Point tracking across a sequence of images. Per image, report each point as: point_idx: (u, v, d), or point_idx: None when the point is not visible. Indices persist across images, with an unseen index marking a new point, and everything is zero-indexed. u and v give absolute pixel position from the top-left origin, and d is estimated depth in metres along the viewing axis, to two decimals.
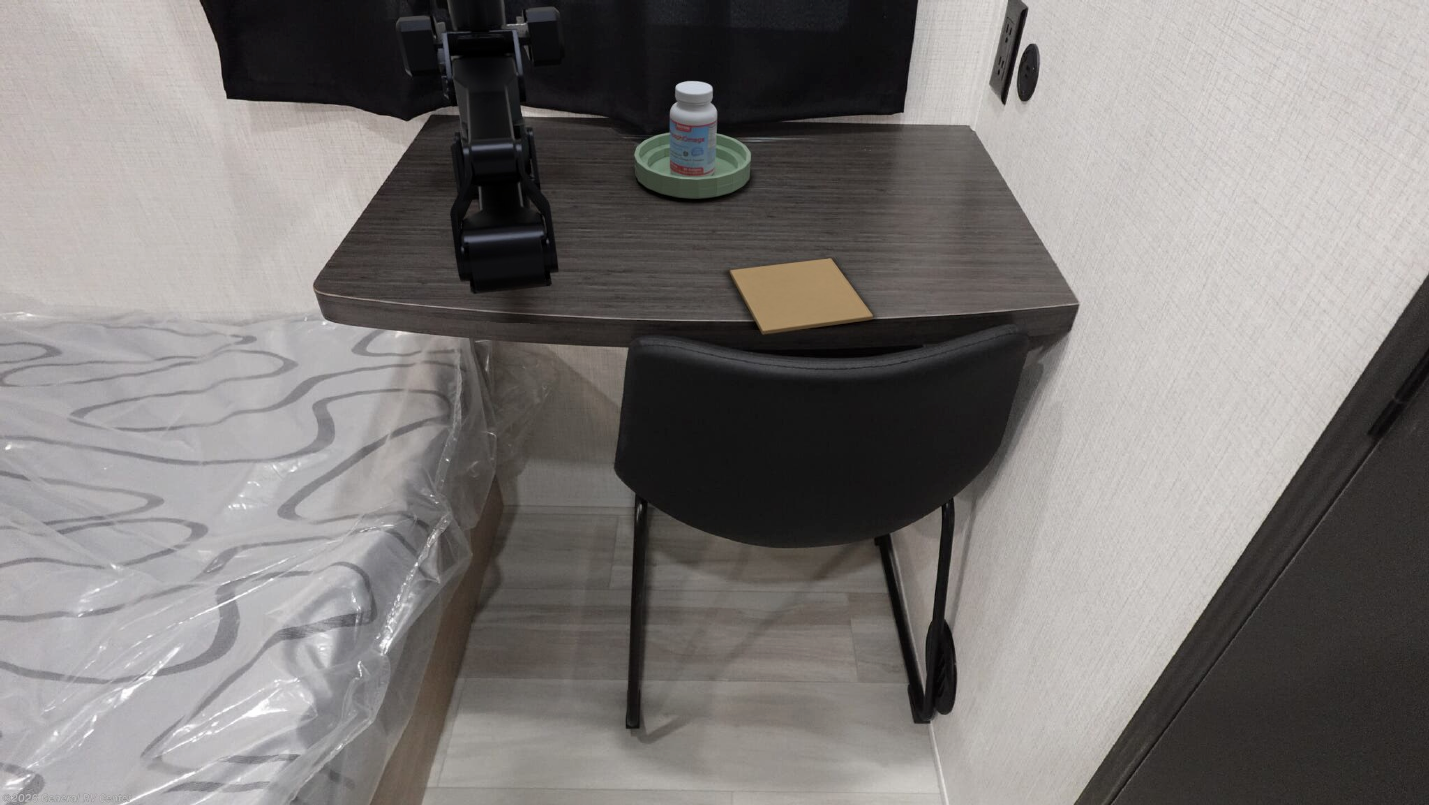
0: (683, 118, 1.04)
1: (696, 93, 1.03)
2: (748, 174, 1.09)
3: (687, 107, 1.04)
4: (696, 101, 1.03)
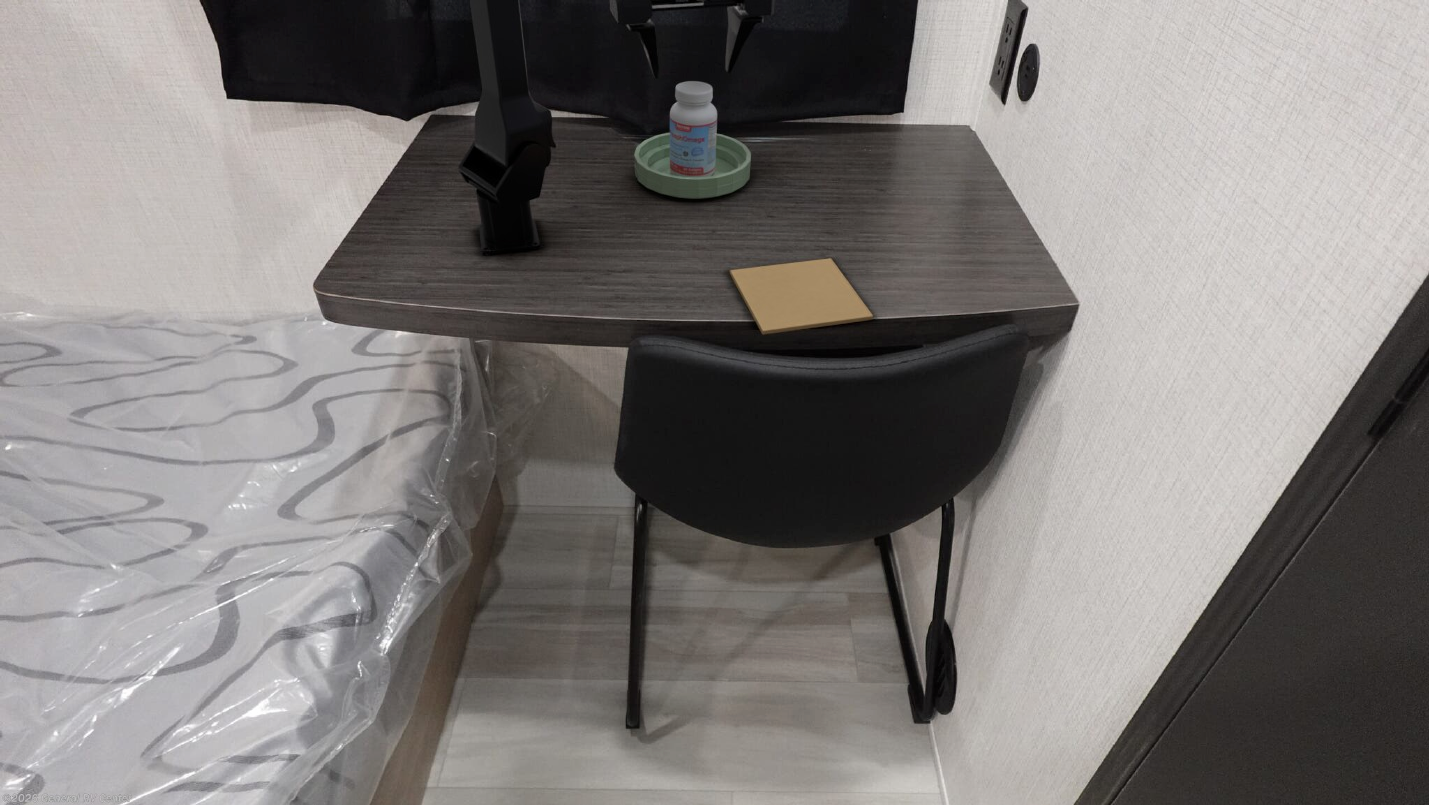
0: (683, 118, 1.04)
1: (696, 93, 1.03)
2: (748, 174, 1.09)
3: (687, 107, 1.04)
4: (696, 101, 1.03)
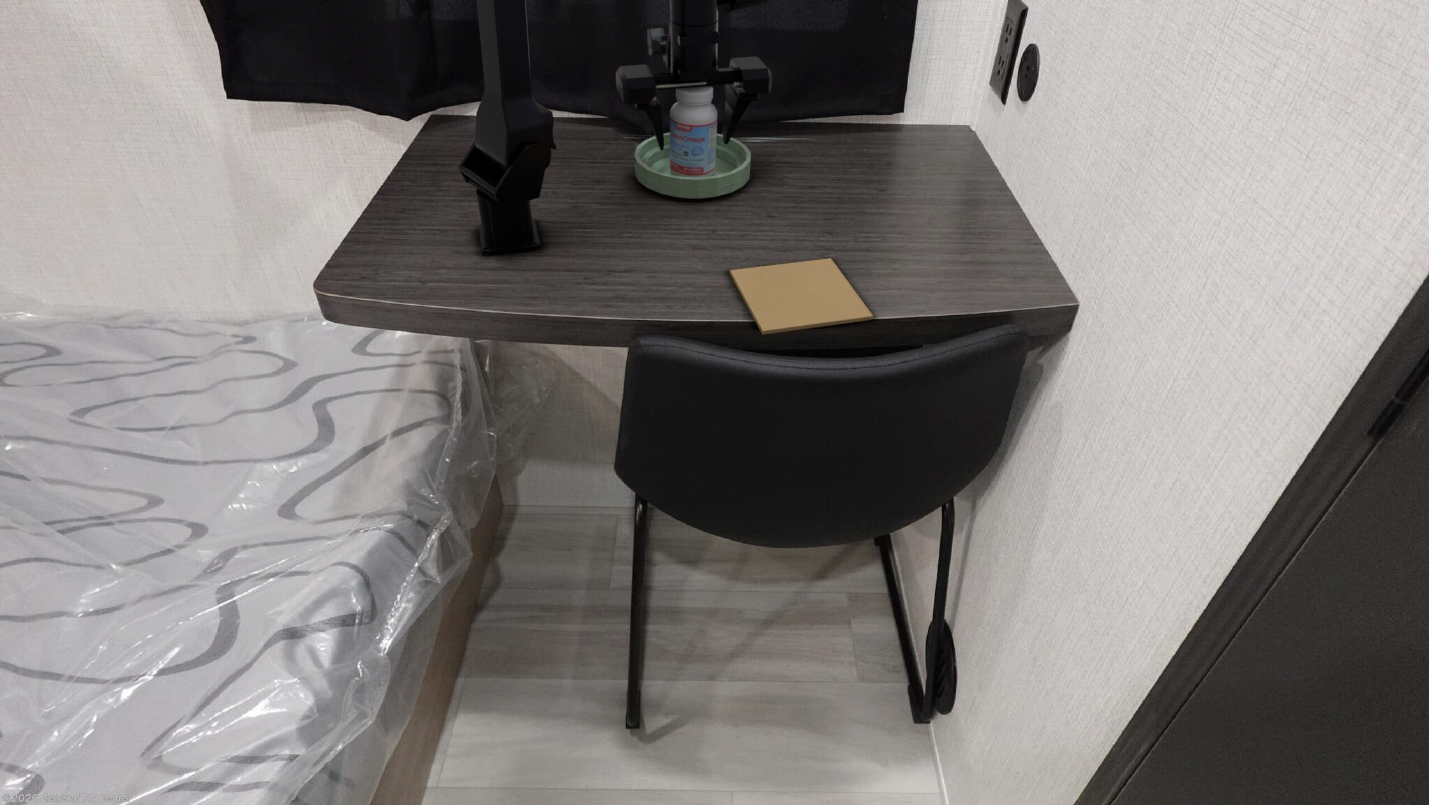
0: (683, 118, 1.04)
1: (696, 93, 1.03)
2: (748, 174, 1.09)
3: (687, 107, 1.04)
4: (696, 100, 1.03)
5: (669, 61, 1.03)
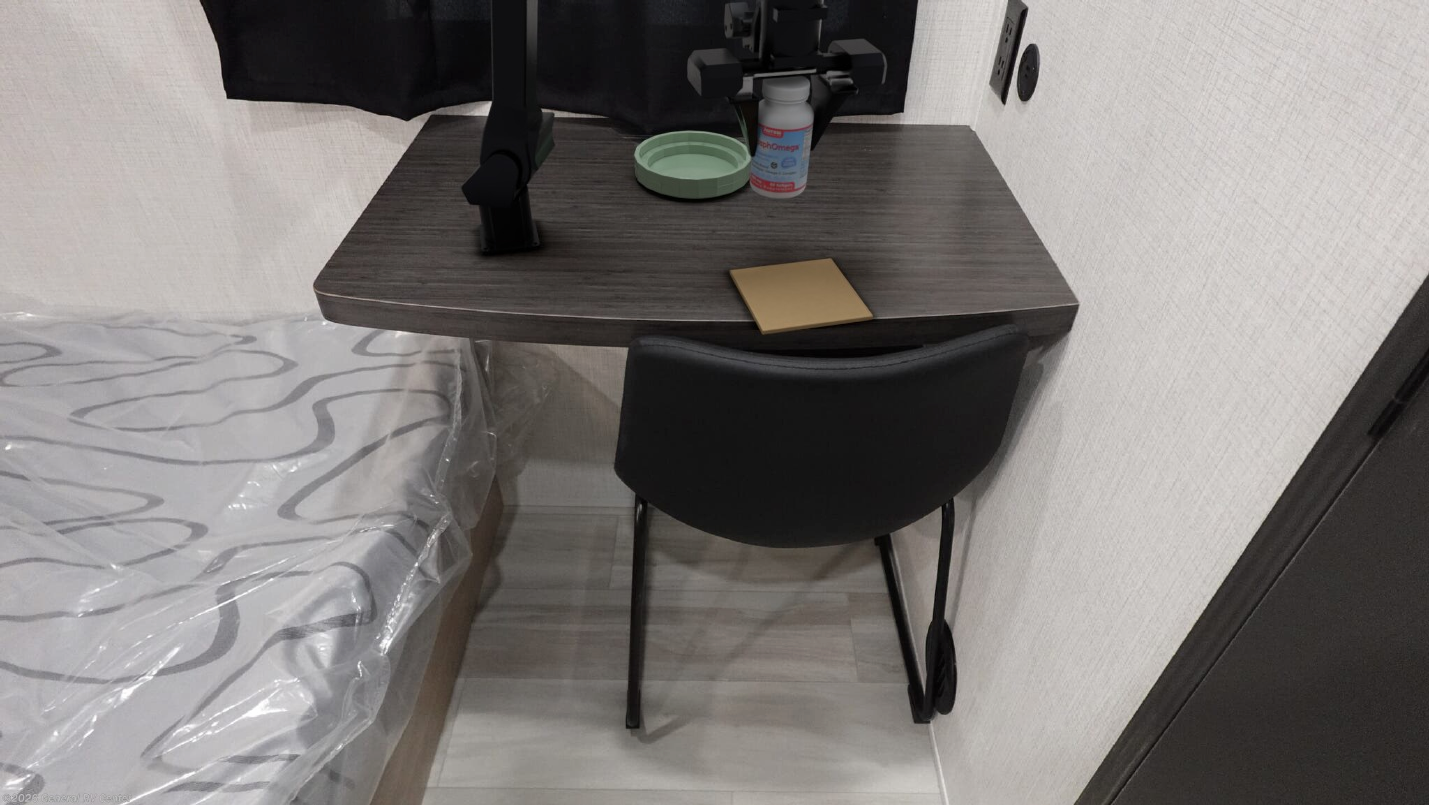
0: (773, 121, 0.82)
1: (791, 88, 0.80)
2: (748, 174, 1.09)
3: (778, 106, 0.81)
4: (791, 98, 0.81)
5: (756, 44, 0.81)
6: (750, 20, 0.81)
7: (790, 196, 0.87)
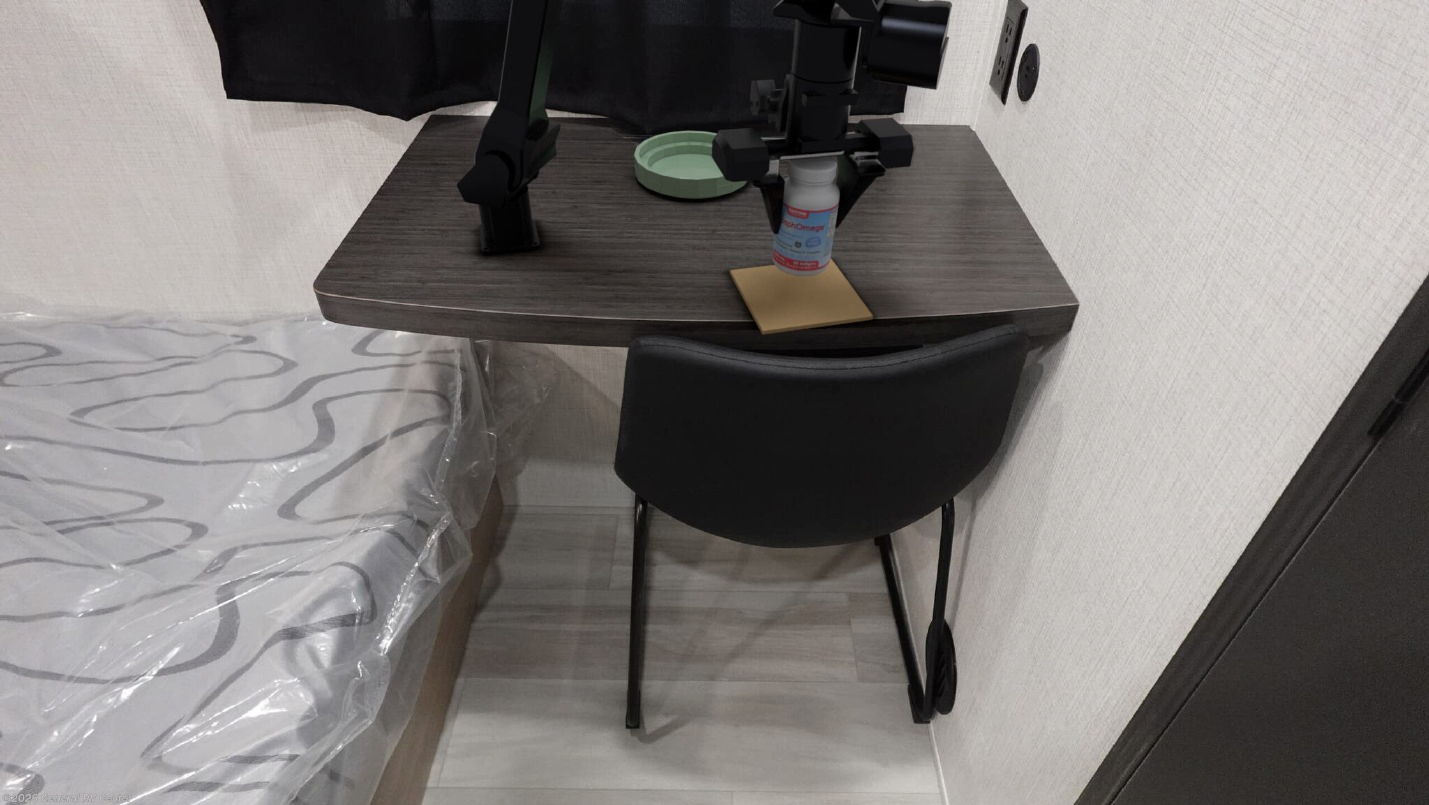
0: (799, 202, 0.80)
1: (818, 170, 0.78)
2: None
3: (804, 187, 0.80)
4: (817, 180, 0.79)
5: (782, 124, 0.79)
6: (777, 99, 0.79)
7: (813, 274, 0.85)
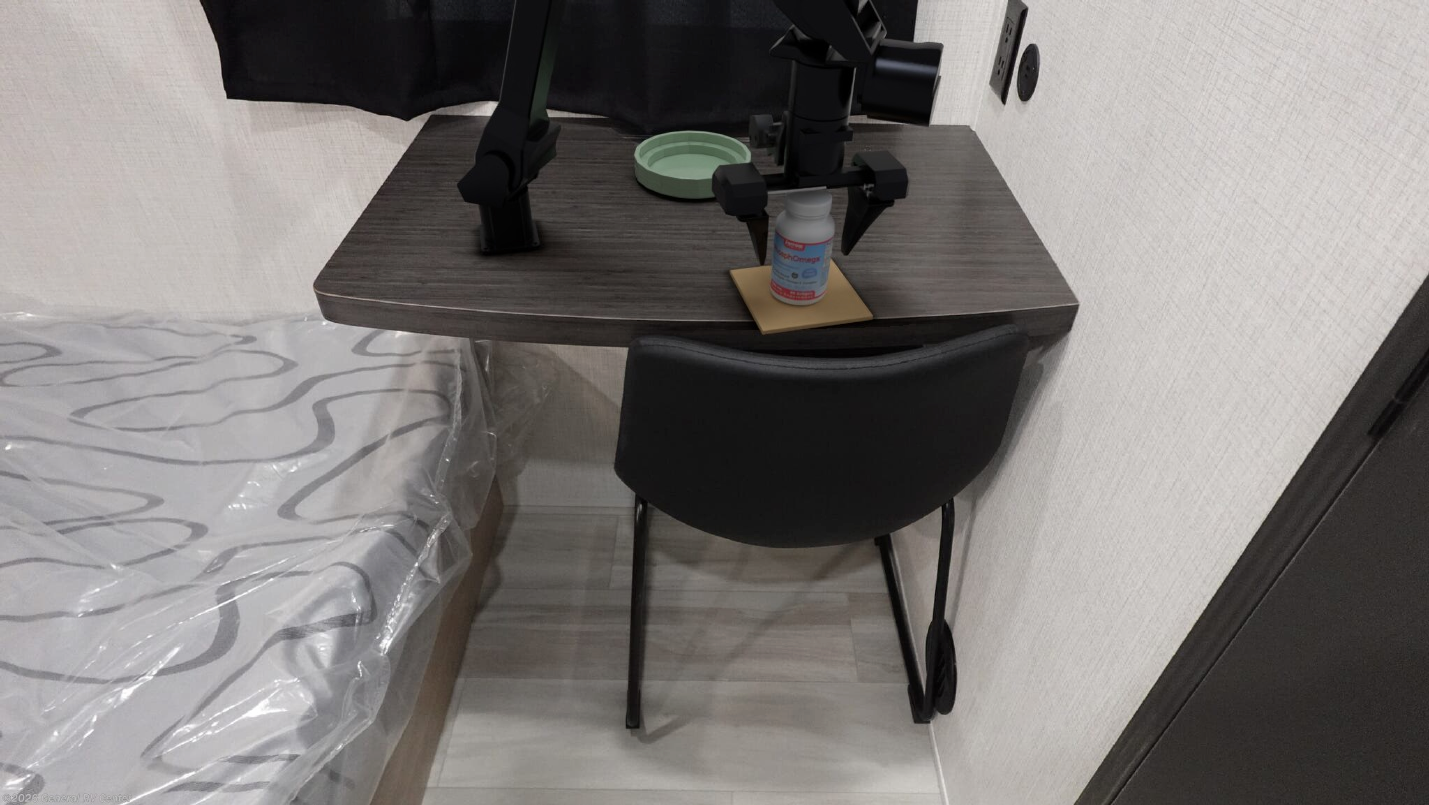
0: (795, 235, 0.82)
1: (814, 205, 0.81)
2: None
3: (800, 220, 0.82)
4: (813, 214, 0.81)
5: (780, 158, 0.81)
6: (775, 134, 0.82)
7: (810, 303, 0.87)
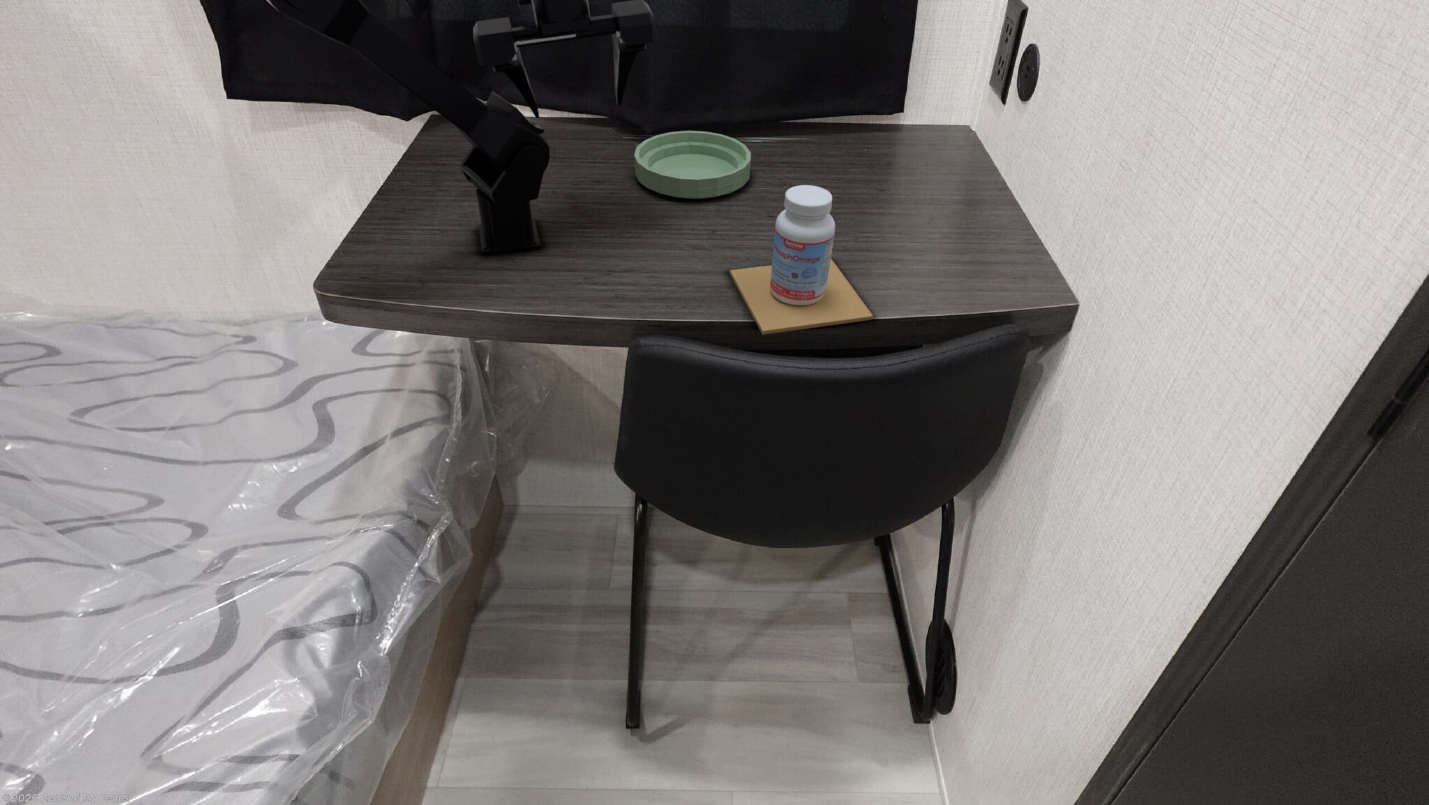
0: (795, 235, 0.82)
1: (814, 205, 0.81)
2: (748, 174, 1.09)
3: (800, 220, 0.82)
4: (813, 214, 0.81)
5: None
6: None
7: (810, 303, 0.87)
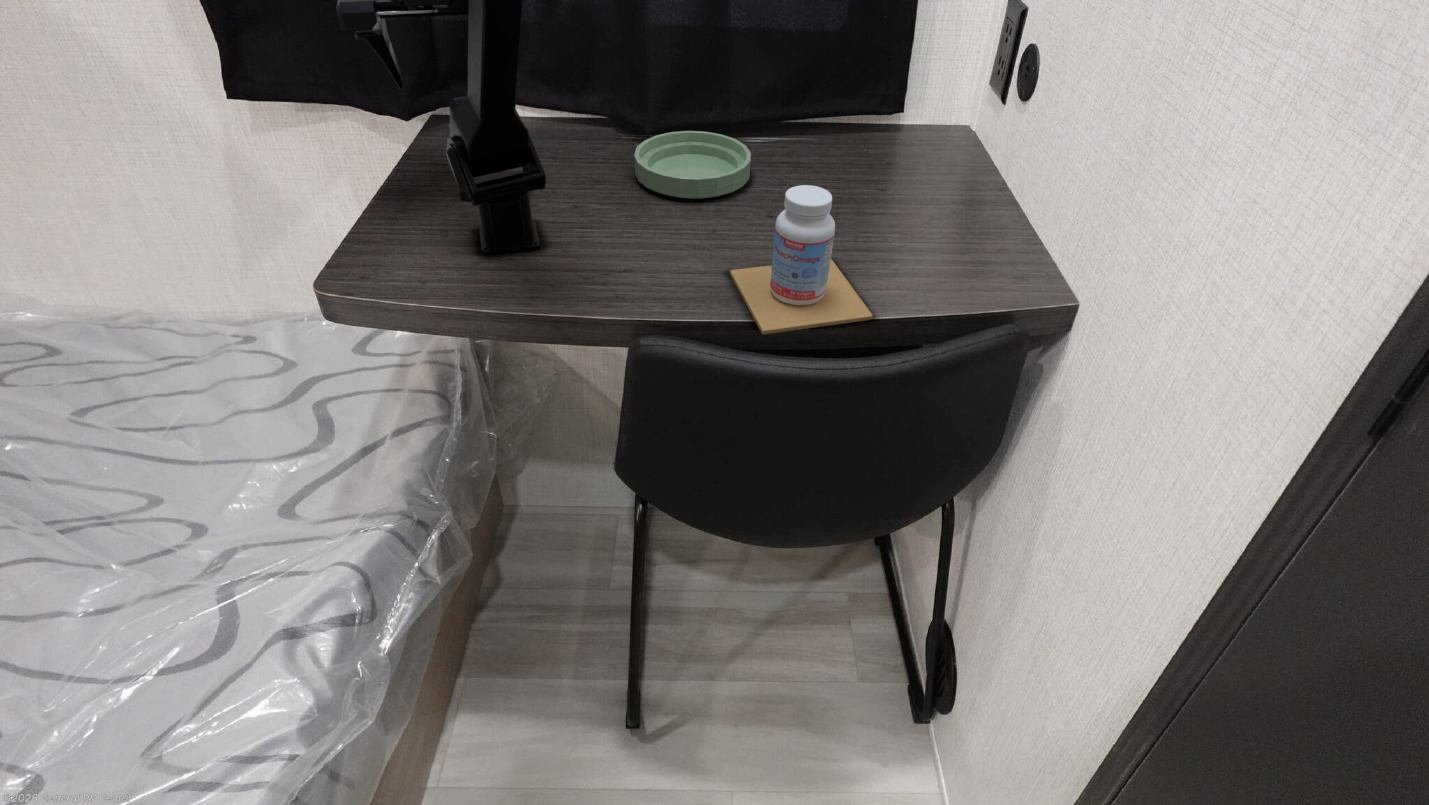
0: (795, 235, 0.82)
1: (814, 205, 0.81)
2: (748, 174, 1.09)
3: (800, 220, 0.82)
4: (813, 214, 0.81)
5: None
6: None
7: (810, 303, 0.87)
